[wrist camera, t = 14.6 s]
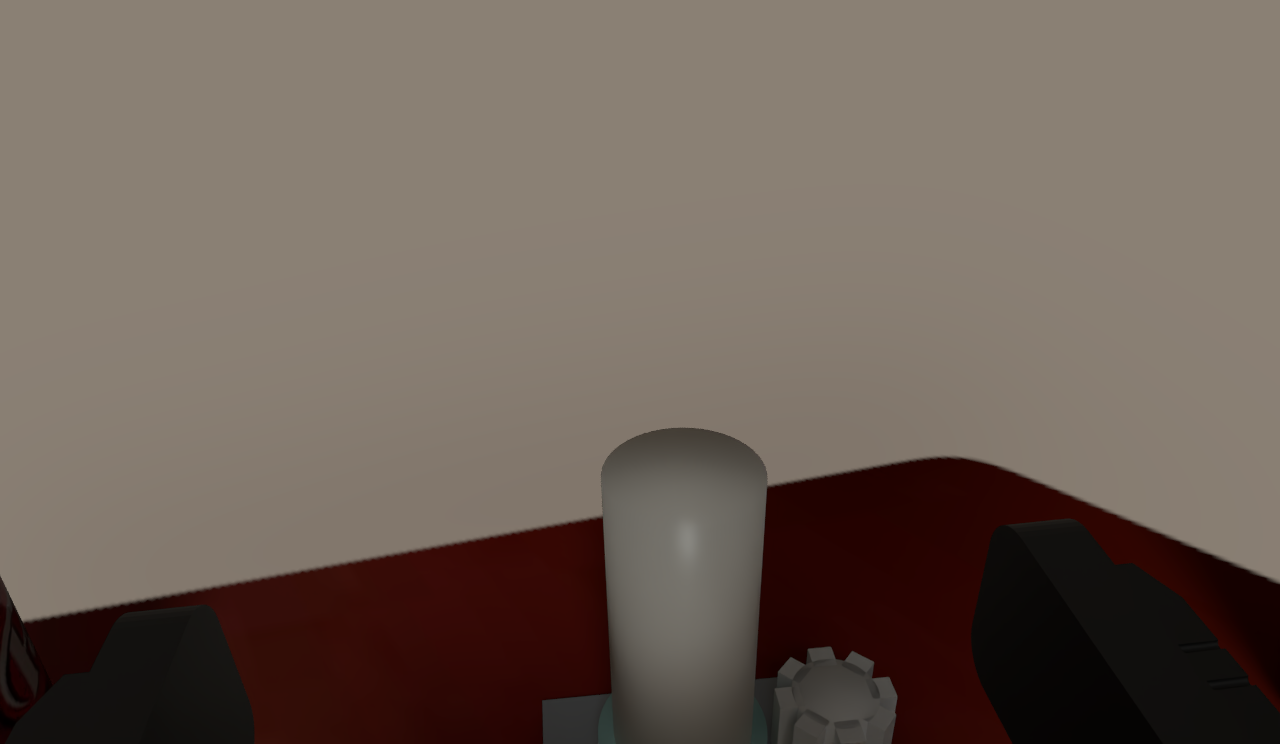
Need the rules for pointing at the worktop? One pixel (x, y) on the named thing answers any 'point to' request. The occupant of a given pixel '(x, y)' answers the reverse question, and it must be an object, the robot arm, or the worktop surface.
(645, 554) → the gray pillar
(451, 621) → the worktop surface
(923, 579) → the worktop surface
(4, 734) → the soda can
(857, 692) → the carrier plate
